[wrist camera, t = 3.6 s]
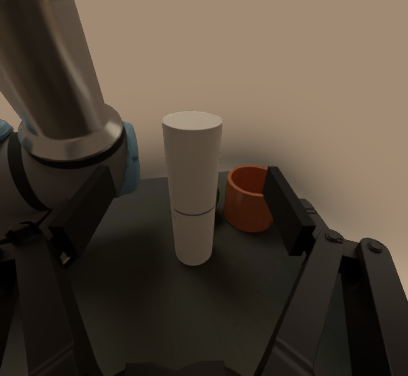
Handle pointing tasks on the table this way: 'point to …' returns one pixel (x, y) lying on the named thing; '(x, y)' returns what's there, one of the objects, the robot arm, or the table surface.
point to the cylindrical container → (192, 180)
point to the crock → (247, 199)
